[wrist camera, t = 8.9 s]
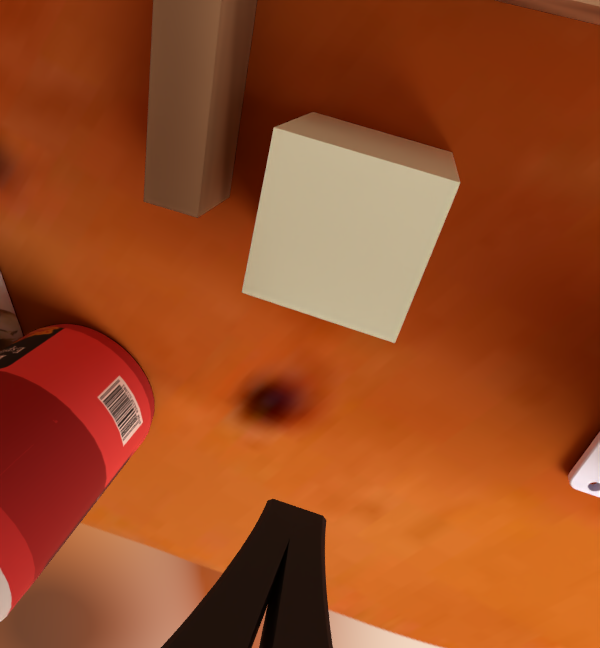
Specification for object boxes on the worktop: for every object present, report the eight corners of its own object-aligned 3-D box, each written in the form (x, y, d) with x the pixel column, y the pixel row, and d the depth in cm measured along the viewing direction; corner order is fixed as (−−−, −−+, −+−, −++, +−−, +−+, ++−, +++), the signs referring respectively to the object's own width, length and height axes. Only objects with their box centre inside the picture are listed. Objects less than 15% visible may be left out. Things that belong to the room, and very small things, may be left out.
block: (452, 152, 16) (460, 182, 12) (402, 280, 19) (395, 343, 15) (313, 111, 17) (273, 127, 12) (283, 242, 19) (241, 292, 15)
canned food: (48, 289, 23) (-215, 437, 14) (184, 383, 24) (23, 586, 14) (11, 385, 27) (-215, 553, 18) (129, 464, 28) (-27, 666, 18)
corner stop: (708, -47, 13) (779, -76, 10) (533, 286, 18) (550, 323, 15) (212, -155, 14) (163, -206, 11) (182, 183, 19) (143, 201, 16)
